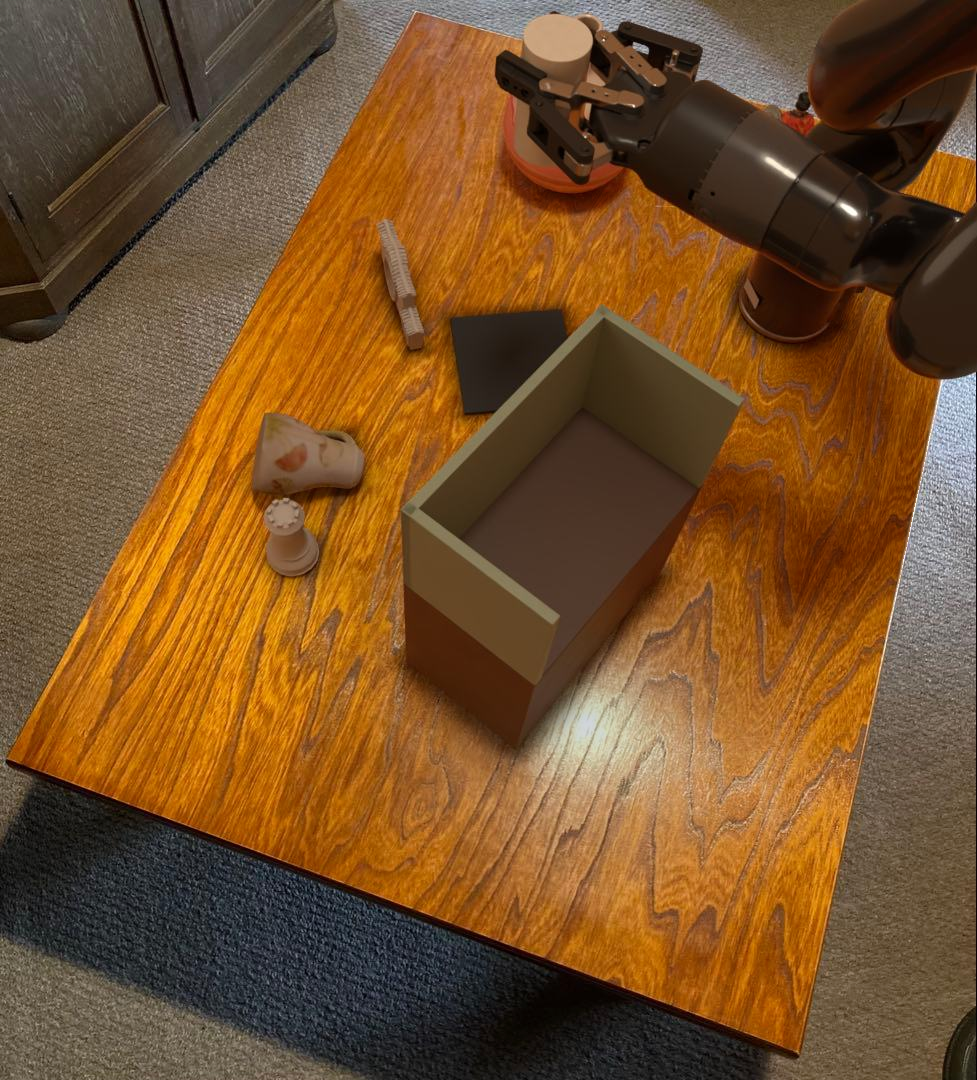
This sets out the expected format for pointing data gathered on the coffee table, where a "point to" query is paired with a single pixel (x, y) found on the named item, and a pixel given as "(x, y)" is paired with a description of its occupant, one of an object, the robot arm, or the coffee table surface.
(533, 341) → the mat
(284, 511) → the rook chess piece
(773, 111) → the figurine
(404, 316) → the garden wall model
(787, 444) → the coffee table surface
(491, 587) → the bay
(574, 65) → the beige cylinder
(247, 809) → the coffee table surface
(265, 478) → the mug
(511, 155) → the vase
